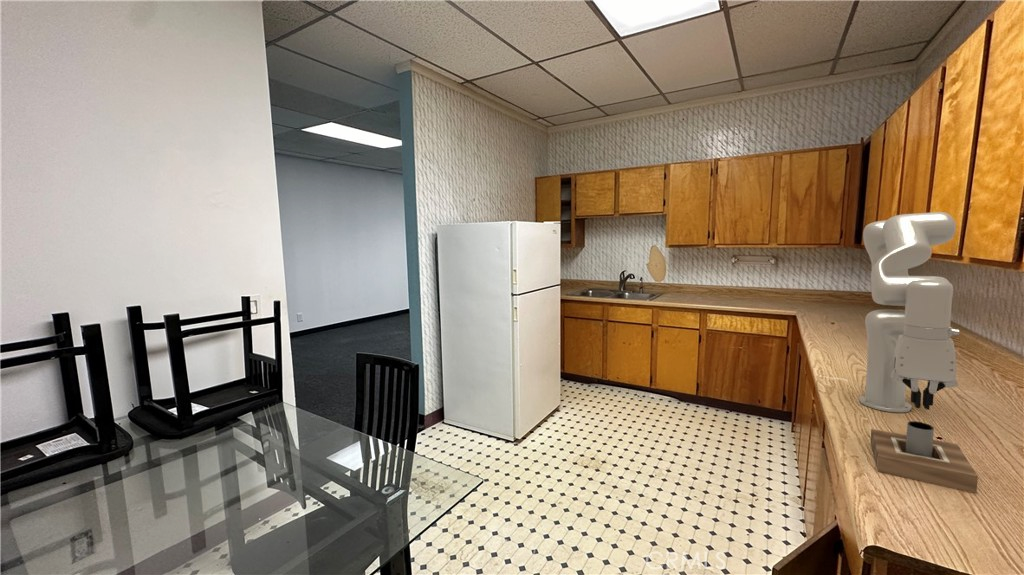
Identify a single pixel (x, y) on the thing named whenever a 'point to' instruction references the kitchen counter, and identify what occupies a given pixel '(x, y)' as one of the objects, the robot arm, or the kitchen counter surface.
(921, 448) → the grey hollow tube
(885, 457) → the brown flat square frame
